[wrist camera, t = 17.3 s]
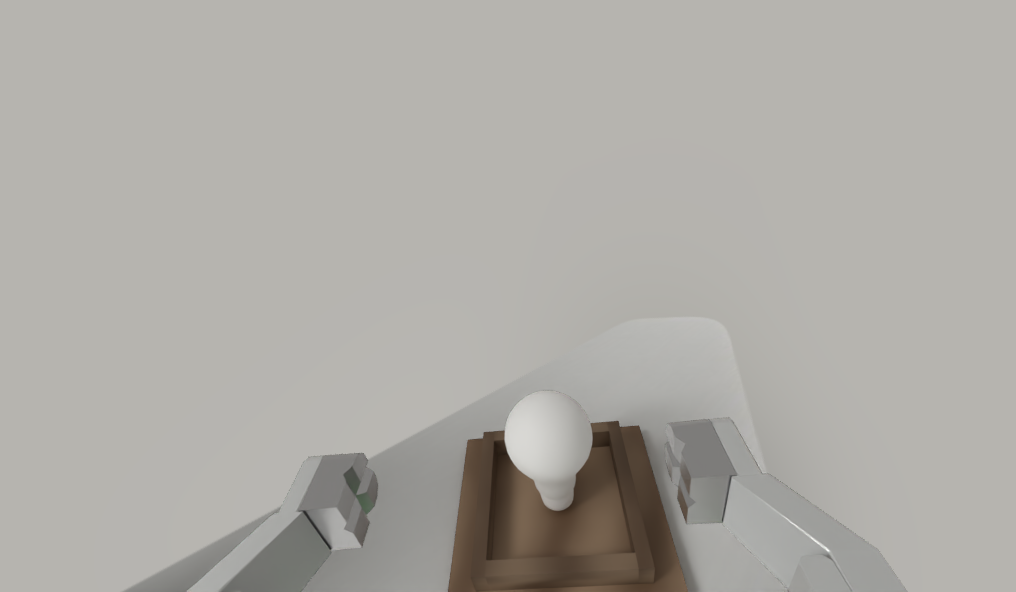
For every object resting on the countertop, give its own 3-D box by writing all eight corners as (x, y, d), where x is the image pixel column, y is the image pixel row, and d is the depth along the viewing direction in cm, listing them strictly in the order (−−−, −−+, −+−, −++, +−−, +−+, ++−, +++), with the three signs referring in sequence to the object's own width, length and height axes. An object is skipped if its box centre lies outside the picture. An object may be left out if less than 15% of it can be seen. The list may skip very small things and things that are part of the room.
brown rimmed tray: (449, 615, 29) (438, 595, 28) (469, 446, 41) (463, 425, 40) (689, 606, 28) (692, 584, 26) (638, 432, 40) (639, 410, 38)
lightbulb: (511, 530, 33) (484, 434, 27) (531, 462, 37) (512, 368, 32) (591, 549, 31) (581, 449, 25) (602, 475, 35) (596, 376, 30)
